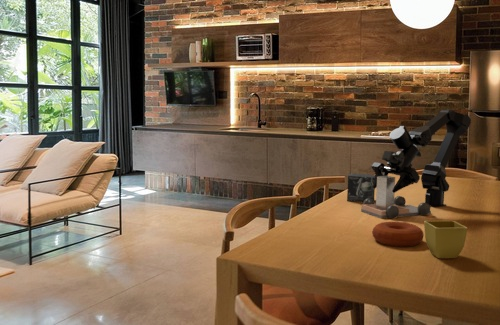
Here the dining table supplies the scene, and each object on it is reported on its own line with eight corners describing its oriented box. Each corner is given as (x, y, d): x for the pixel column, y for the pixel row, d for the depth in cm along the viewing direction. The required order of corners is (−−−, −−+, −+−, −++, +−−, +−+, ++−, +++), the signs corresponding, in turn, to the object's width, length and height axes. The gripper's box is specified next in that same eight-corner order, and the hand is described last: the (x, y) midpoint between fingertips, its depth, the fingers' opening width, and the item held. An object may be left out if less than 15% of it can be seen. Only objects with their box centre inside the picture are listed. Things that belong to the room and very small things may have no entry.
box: (346, 201, 229) (347, 175, 228) (348, 198, 236) (349, 173, 234) (373, 203, 226) (374, 177, 225) (374, 200, 233) (375, 174, 231)
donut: (432, 242, 170) (433, 226, 169) (406, 252, 159) (407, 234, 159) (389, 233, 180) (390, 217, 180) (361, 241, 170) (362, 224, 169)
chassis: (406, 206, 221) (406, 195, 220) (433, 214, 207) (434, 202, 206) (358, 210, 212) (359, 198, 211) (384, 219, 198) (384, 207, 197)
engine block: (384, 209, 210) (385, 175, 209) (393, 211, 207) (395, 177, 205) (375, 210, 208) (377, 176, 206) (385, 212, 204) (386, 178, 202)
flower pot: (421, 251, 159) (423, 220, 158) (451, 251, 160) (453, 220, 159) (434, 261, 151) (436, 228, 149) (466, 261, 151) (468, 227, 150)
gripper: (375, 140, 214) (353, 172, 209) (416, 145, 199) (393, 179, 194) (389, 160, 219) (367, 191, 214) (429, 166, 204) (407, 199, 199)
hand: (383, 189), depth 205 cm, fingers open, 9 cm apart
